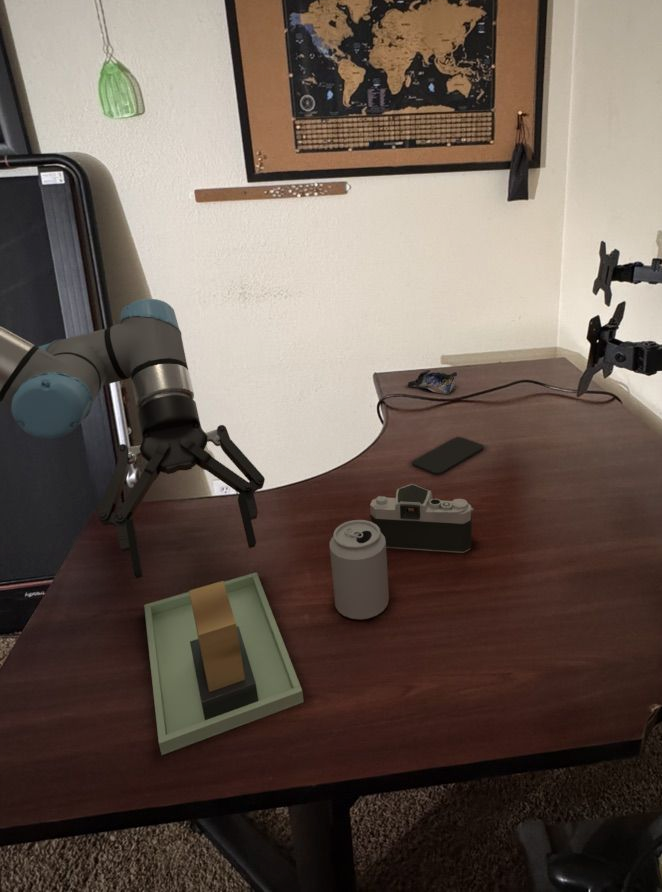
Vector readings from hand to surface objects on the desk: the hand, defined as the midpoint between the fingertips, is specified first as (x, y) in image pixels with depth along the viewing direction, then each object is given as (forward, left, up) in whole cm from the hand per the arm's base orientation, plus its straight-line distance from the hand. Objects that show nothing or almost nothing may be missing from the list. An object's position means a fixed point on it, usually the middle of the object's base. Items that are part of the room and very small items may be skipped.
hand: (197, 560), depth 77 cm
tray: (+2, -2, -13) cm, 13 cm away
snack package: (+10, +93, -13) cm, 95 cm away
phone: (+21, +56, -13) cm, 61 cm away
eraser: (+5, -6, -12) cm, 14 cm away
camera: (+22, +28, -13) cm, 38 cm away
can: (+17, +11, -13) cm, 24 cm away
